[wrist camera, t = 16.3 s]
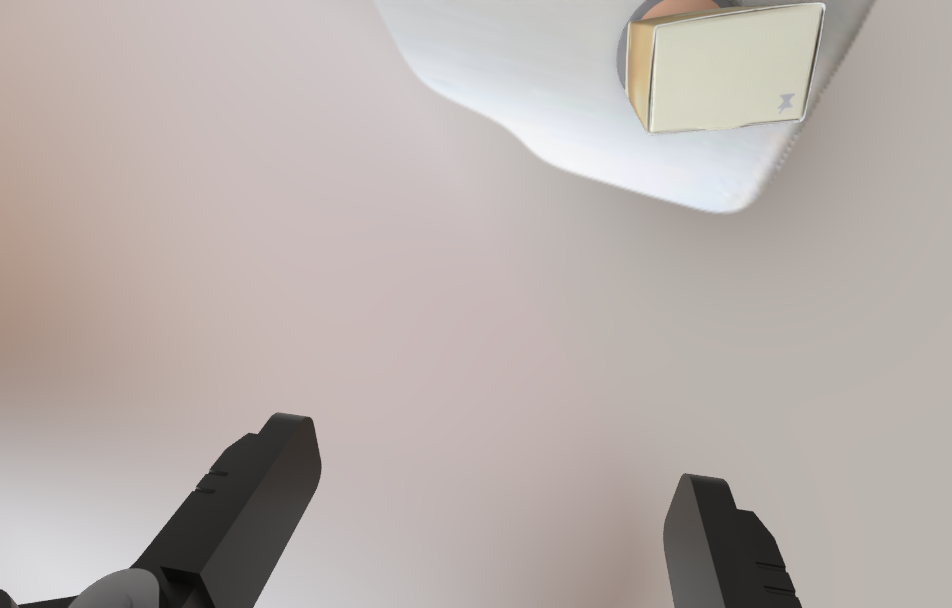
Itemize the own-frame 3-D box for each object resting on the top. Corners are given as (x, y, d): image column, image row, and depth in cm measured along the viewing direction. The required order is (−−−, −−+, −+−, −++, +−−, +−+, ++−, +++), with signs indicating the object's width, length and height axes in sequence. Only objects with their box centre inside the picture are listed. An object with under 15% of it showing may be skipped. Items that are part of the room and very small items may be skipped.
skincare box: (738, 4, 28) (841, -5, 17) (728, 87, 30) (814, 123, 19) (621, 20, 29) (651, 21, 18) (619, 98, 31) (646, 138, 21)
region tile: (607, 108, 32) (608, 110, 31) (628, -18, 29) (629, -19, 28) (717, 115, 31) (721, 117, 31) (752, -14, 28) (757, -15, 27)
